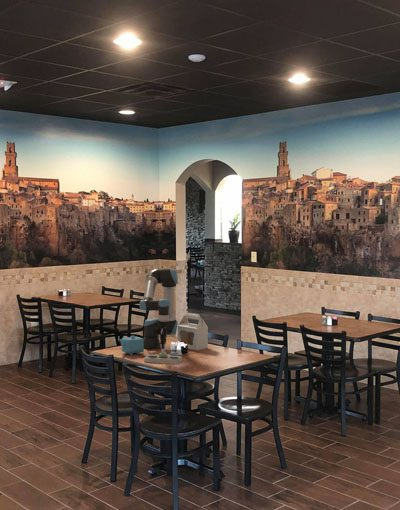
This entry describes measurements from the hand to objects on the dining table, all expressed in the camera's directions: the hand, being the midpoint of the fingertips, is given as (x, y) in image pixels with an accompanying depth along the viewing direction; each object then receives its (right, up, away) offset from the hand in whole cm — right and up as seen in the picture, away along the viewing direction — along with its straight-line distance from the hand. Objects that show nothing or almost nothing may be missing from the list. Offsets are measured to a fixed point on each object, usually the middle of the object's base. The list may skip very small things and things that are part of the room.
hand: (163, 352), depth 465 cm
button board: (0, -6, 0) cm, 6 cm away
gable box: (+21, -4, +55) cm, 59 cm away
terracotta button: (-8, -1, +1) cm, 8 cm away
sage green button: (0, -2, 0) cm, 2 cm away
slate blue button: (+8, -1, -1) cm, 8 cm away
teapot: (-26, -5, +25) cm, 37 cm away
